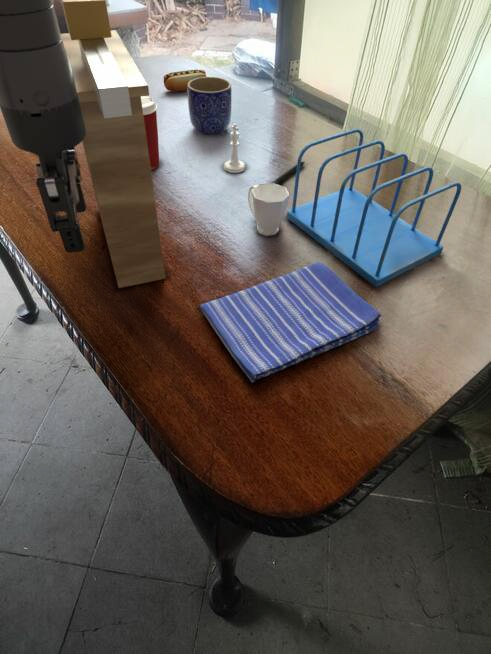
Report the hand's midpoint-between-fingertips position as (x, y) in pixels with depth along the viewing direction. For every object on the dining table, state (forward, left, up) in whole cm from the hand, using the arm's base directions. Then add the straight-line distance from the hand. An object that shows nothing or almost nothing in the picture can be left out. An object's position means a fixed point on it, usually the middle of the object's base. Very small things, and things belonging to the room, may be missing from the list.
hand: (77, 229), depth 57 cm
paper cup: (+8, +51, -18) cm, 55 cm away
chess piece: (+28, +47, -18) cm, 58 cm away
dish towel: (+29, -3, -18) cm, 34 cm away
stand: (+4, +21, -18) cm, 28 cm away
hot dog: (+21, +97, -18) cm, 101 cm away
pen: (+39, +41, -18) cm, 59 cm away
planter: (+25, +68, -18) cm, 75 cm away
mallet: (+5, +12, +13) cm, 18 cm away
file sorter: (+48, +17, -18) cm, 54 cm away
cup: (+30, +23, -18) cm, 42 cm away
